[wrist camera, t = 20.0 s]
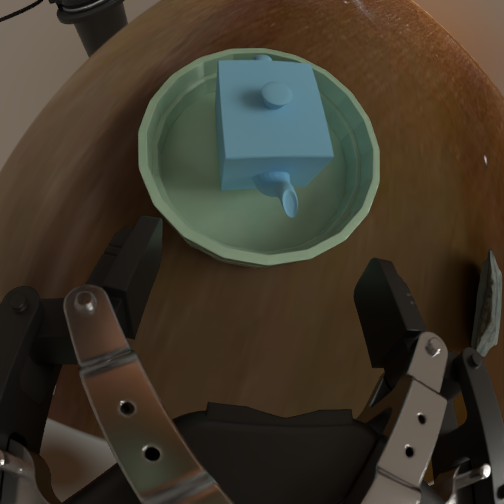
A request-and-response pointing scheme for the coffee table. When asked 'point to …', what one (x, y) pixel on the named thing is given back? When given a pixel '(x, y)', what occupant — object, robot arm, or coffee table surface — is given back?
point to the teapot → (270, 127)
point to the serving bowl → (252, 200)
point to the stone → (487, 307)
